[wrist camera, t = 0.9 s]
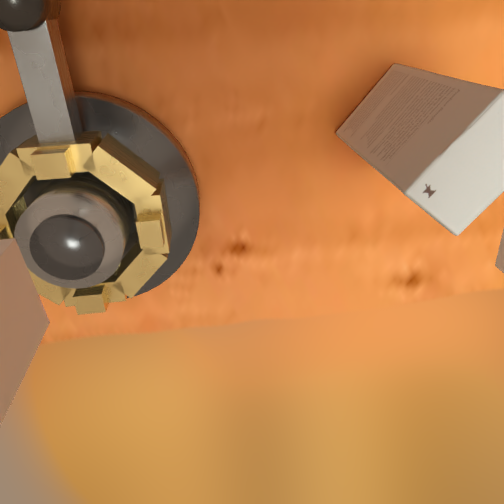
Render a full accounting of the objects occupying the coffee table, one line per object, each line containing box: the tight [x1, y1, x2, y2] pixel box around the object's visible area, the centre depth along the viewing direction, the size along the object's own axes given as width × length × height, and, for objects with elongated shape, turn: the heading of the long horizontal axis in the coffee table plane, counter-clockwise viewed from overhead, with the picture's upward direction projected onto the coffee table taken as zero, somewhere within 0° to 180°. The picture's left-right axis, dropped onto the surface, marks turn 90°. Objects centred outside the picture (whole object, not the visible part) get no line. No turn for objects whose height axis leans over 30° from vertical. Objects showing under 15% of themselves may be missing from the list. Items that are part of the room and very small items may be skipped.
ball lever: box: [0, 0, 172, 315], centre depth 26 cm, size 19×11×4 cm, turn 3°
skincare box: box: [336, 64, 504, 236], centre depth 25 cm, size 6×4×12 cm
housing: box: [0, 91, 199, 298], centre depth 28 cm, size 15×15×8 cm
